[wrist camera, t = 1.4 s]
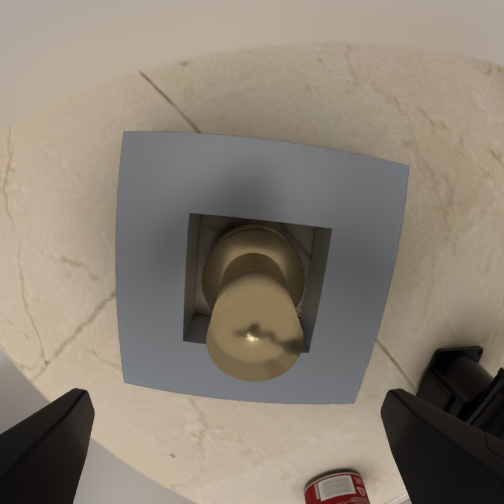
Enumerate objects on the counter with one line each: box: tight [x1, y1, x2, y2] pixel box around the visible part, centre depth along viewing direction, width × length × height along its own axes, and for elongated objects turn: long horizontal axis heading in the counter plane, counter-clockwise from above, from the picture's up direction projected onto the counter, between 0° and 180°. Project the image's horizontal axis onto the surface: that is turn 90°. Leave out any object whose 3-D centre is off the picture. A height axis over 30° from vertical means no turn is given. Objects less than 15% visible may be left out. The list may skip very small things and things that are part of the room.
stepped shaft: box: [202, 224, 305, 382], centre depth 16 cm, size 6×6×10 cm
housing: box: [116, 131, 409, 404], centre depth 19 cm, size 16×16×4 cm
